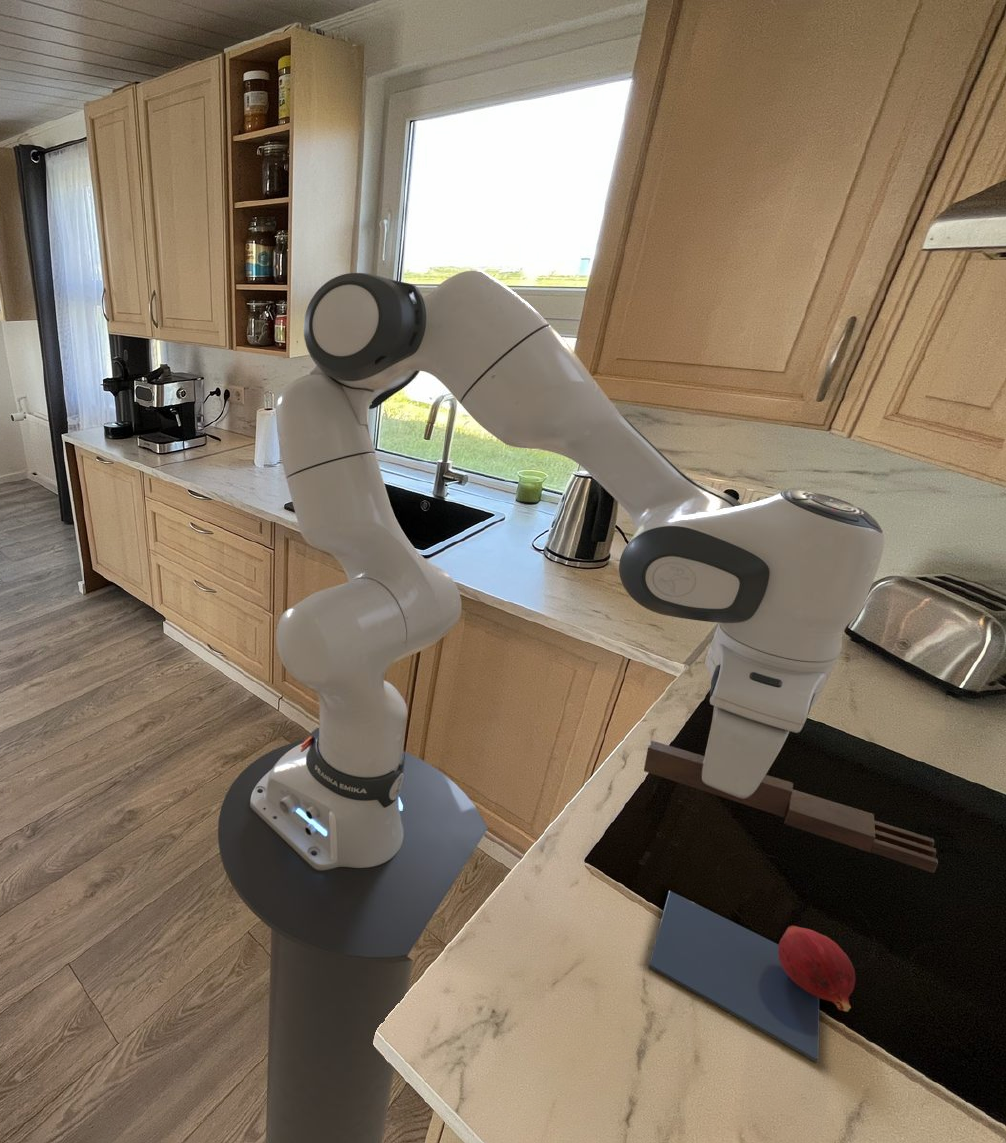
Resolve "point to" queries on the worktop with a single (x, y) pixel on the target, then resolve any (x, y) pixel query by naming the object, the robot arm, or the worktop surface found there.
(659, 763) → the fork
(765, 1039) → the worktop surface
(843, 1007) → the red fruit
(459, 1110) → the worktop surface
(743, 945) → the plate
